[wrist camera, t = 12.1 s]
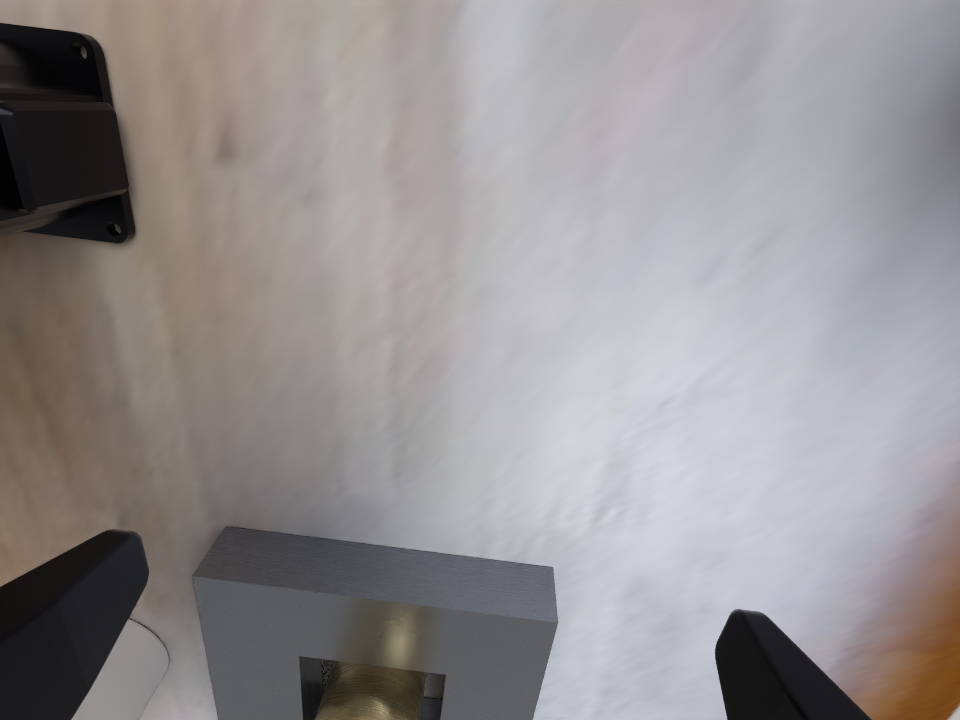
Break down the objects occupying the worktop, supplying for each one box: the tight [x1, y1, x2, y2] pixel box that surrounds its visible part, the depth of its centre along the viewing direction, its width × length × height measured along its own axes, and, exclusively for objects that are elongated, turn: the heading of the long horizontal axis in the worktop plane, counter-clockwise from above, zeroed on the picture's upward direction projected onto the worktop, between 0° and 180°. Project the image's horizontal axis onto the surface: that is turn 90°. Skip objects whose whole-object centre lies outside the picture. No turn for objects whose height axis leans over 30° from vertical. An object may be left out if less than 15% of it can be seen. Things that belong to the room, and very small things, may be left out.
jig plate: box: [192, 527, 558, 720], centre depth 27 cm, size 16×16×3 cm
